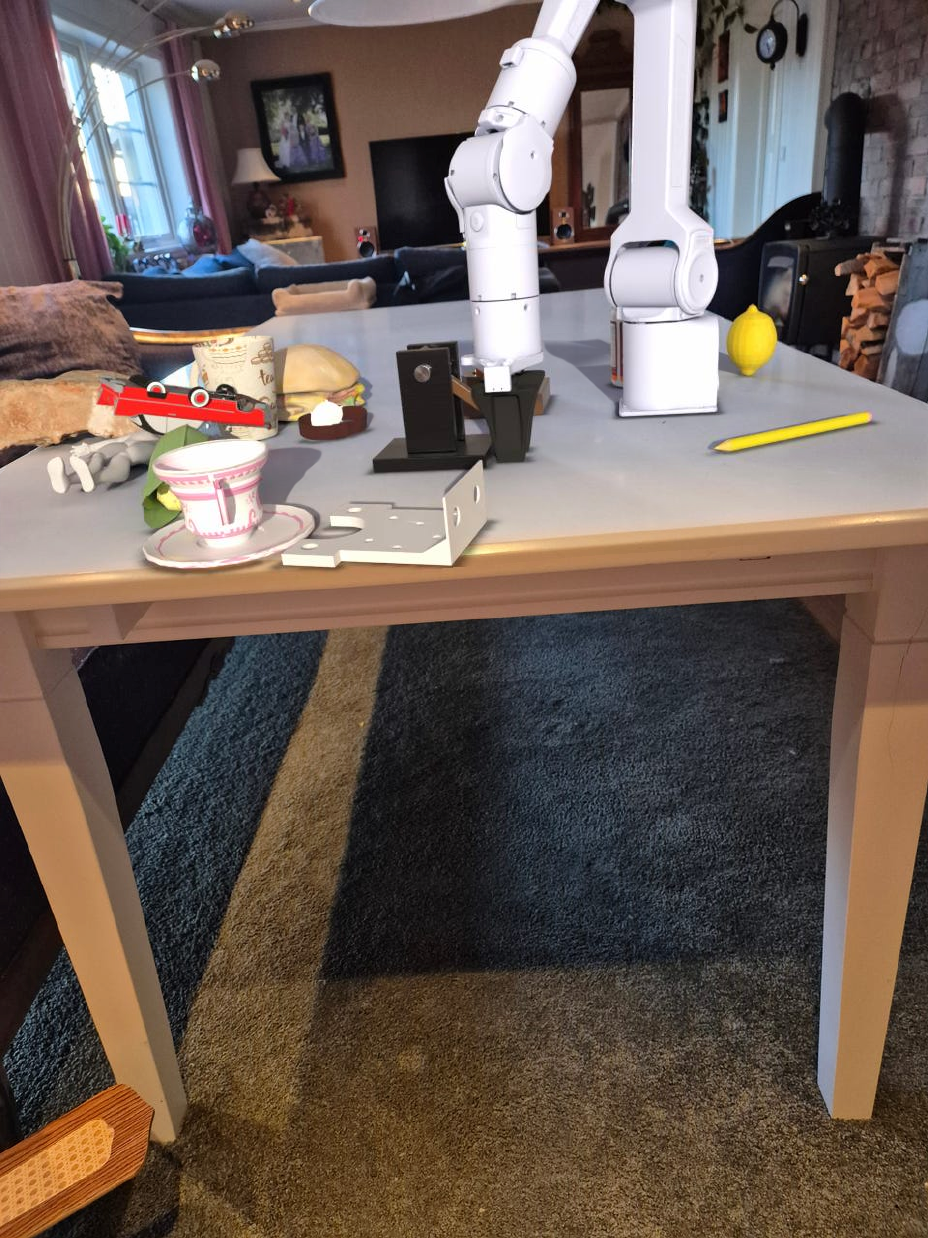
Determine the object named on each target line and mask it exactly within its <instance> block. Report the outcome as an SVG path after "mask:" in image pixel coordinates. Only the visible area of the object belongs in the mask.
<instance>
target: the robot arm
mask: <svg viewBox="0 0 928 1238" xmlns="http://www.w3.org/2000/svg"><path fill="white" fill-rule="evenodd" d="M600 1H601V0H543V2H542V5H541V8H540V11H539V14H538V17H537V20H536V22H535V26H534V29H533V30H532V34H531V36H530V37H526V38H522V39H520V40H518V41H516V42H515V43H514V44H513V45H512V46H511V47H510V48H507V49H504V51H503V54H502V56H501V58H500V61H499V66H500V67H501V70H500V72H499V75H498V77H497V80H496V82H495V84H494V87H493V89H492V92H491V94H490V96H489V99H488V101H487V103H486V105H485V108H484V109H482V110H481V112H480V115H479V117H478V120H477V124H478V125H477V127H476V129H475V133H474V136H472V137H468V138H466V140H464V141H463V140H462V142H461V143H460V144H459V145H458V147H456V150H455V152H454V154H453V156H452V158H451V161H450V164H449V169H448V176H446V177H444V187H445V191H446V195H447V197H448V199H449V201H450V203H451V205H452V207H453V208H454V209H455V211H456V213H457V216H458V223H459V233H460V234H461V233H462V238H463V240H465V248H466V249H465V251H466V261H467V276H468V278H467V279H468V290H469V300H470V304H469V305H470V313H471V314H470V315H471V328H472V329H471V331H472V341H473V344H472V345H473V353H468V354H463V355H461V357H459V360H460V366H465V367H467V366H471V367H474V369H475V368H477V369H478V370H480V371H481V372H483V373H484V377H483V378H482V379H481V381H480V382H481V383H476V384H474V385H473V386H472V387H471V390H472V395H473V398H474V400H475V401H476V403H477V404H478V406H479V407H480V409H481V411H482V413H483V415H484V417H483V419H484V421H485V422H486V425H487V428H488V432H489V433H490V435H491V439H492V442H493V446H494V450H495V453H494V455H495V456H496V460H497V463H498V464H509V463H510V464H511V463H524V462H525V460H526V455H527V453H528V452H529V449H530V445H531V439H532V430H533V421H534V415H533V414H534V409H535V404H536V400H537V396H538V393H539V390H540V387H541V384H542V382H543V379H544V378H545V377H546V371H545V370H543V369H530V370H529V369H528V368H531V367H533V366H536V365H539V364H541V363H543V362H544V361H545V350H543V347H542V331H541V330H542V326H541V325H542V324H541V304H540V303H541V302H540V301H541V300H540V279H539V253H538V234H537V233H538V230H537V208H538V207H539V206H540V204H541V203H542V202H543V201H544V199H545V197H546V195H547V194H548V193H549V192H550V191H551V190H550V189H551V185H552V177H553V176H552V175H553V169H552V167H553V166H552V155H553V152H554V149H555V147H554V140H553V139H554V137H555V134H556V131H557V129H558V127H559V125H560V122H561V120H562V117H563V116H564V112H565V110H566V108H567V106H568V103H569V101H570V98H571V96H572V94H573V92H574V89H575V87H576V83H577V71H576V67H575V65H574V62H573V60H572V57H573V56H574V55H573V54H574V53H575V51H576V49H577V47H578V45H579V42H580V41H581V39H582V37H583V35H584V33H585V31H586V29H587V27H588V25H589V23H590V21H591V19H592V18H593V15H594V14H595V11H596V9H597V7H598V5H599V4H600ZM614 1H615V2H616V3H617V2H618V3H621V4H624V5H626V6H627V8H628V9H629V10H630V11H631V13H632V15H633V18H634V33H633V34H634V36H633V37H634V39H633V83H632V84H633V87H632V88H633V89H632V90H633V91H632V93H633V94H632V96H633V99H632V138H631V139H632V140H631V142H632V146H631V147H632V148H631V193H630V195H631V196H630V197H631V199H630V212H629V214H628V215H627V216H626V218H625V219H624V220H623V221H622V222H621V223H620V225H619V226H618V227H617V228H616V229H615V230H614V231H613V233H612V234H611V236H610V250H609V257H608V261H607V264H606V267H605V271H604V277H603V288H604V293H605V298H606V301H607V303H608V305H609V306H610V308H611V309H612V310H614V311H616V312H617V320H624V321H623V387H622V395H623V396H621V397H620V398H619V407H618V409H619V410H618V413H619V417H624V418H625V417H644V416H662V415H665V416H666V415H681V414H683V415H684V414H704V413H716V412H718V406H717V405H718V392H719V389H720V375H719V353H720V328H719V327H720V326H719V318H718V316H717V315H705V310H706V309H707V307H708V306H709V304H710V303H711V302H712V300H713V298H714V295H715V293H716V290H717V287H718V283H719V267H718V262H717V259H716V258H717V257H716V253H715V246H714V245H715V244H714V236H715V230H714V228H713V227H712V226H711V225H710V224H709V223H708V222H707V221H705V220H704V219H703V218H702V217H701V216H699V215H698V214H697V213H696V212H695V211H693V210H692V209H691V208H690V207H689V203H690V202H689V200H690V181H691V180H690V179H691V177H690V176H691V158H692V157H691V154H692V133H693V132H692V131H693V130H692V129H693V109H694V108H693V105H694V83H695V81H694V80H695V58H696V34H697V33H696V32H697V11H698V0H614ZM666 240H667V241H672V242H673V243H675V244H673V245H655V246H648V245H649V244H651V243H652V242H656V241H666ZM525 369H527V370H525Z"/></svg>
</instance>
